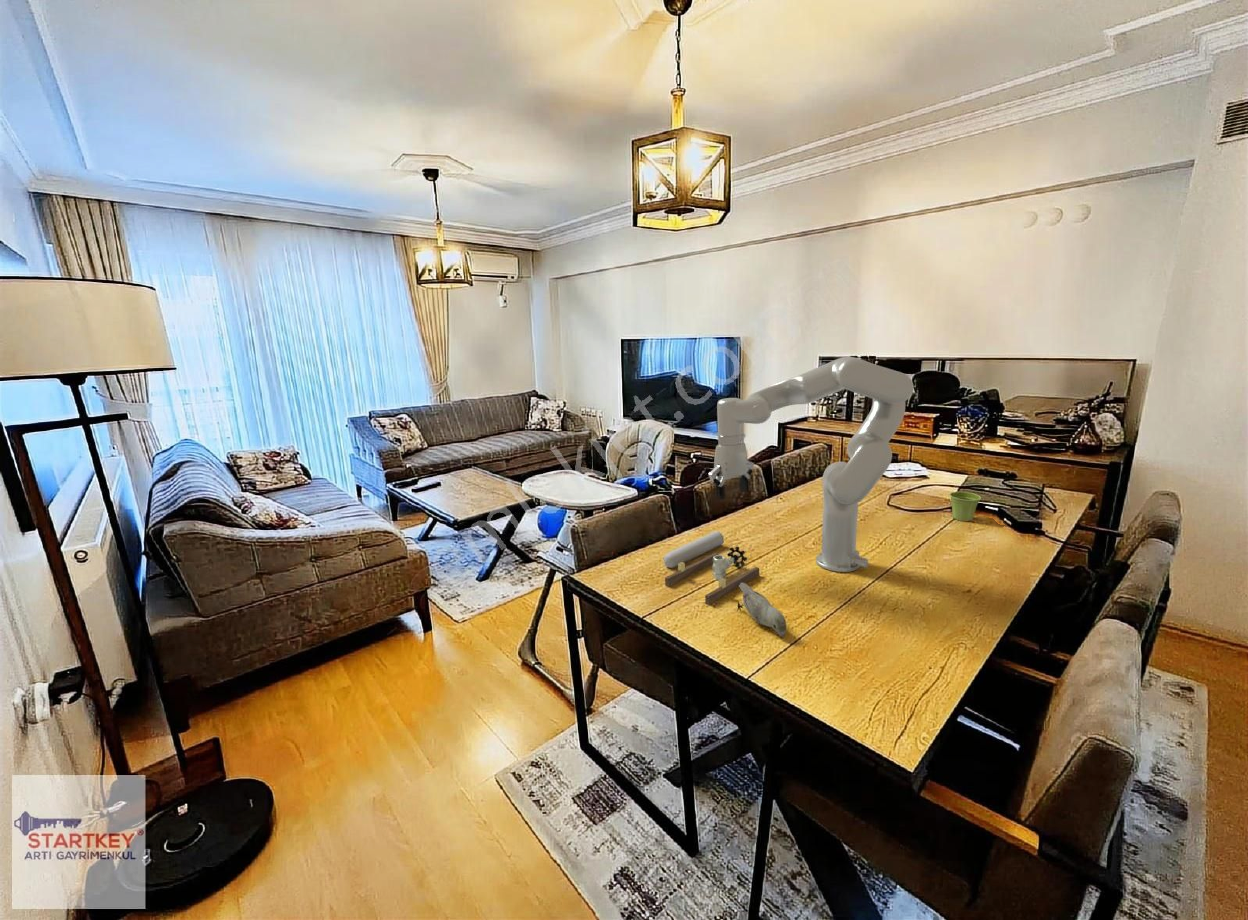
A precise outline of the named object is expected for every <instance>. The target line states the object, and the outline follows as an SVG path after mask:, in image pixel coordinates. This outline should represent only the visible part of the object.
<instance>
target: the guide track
mask: <svg viewBox="0 0 1248 920" xmlns="http://www.w3.org/2000/svg"><path fill="white" fill-rule="evenodd" d="M716 555H719V553H717V552H714V553H712V554H710V555H707V556H705V557H704V558H701V559H700V560H698V561H696V562H694V563H692V564H689V565H688V566H685V565H686V562H685V563H683V562H680V563H678V566H677V569H678V570H677V571H675V572H674V573H671V574H670V575H667V576H666V577H664V585H665V586H666V587H671V586H672V585H674V584H676V583H679V582H680V581H682V580H685V579H686V578H689V577H690V576H692V575H694V574H696V573H698V572H701V570H704V569H705V568H708V567H709V566H713V557H714V556H716ZM759 576H760V567H757V566H754V567H753V568H751V569H749V570H748V571H746V572H744V573H742V574H740V575H739V576H737V577H736V578H733V579H732V580H730V581H728V582H727V583H726V581H727V578H725V579H724V578H721V579H719V580H718V588H716V589H714V590H712V591H711V592H709V593H707V594H705V595H704V599H705V602H704V603H705V605H708V606H710V605H712V604H714V603H715V602H717V601H719V600H721V599H722V598H724V597H726V596H727V595H729V594H730V593H731V594H732V593H733V592H734V591H735V590H738V589H740V587H739V585H740V583H745V584H747V583H750V582H751V581H753V580H754V579H756V578H757V577H759Z"/></svg>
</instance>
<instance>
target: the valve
mask: <svg viewBox="0 0 1248 920" xmlns="http://www.w3.org/2000/svg"><path fill="white" fill-rule="evenodd" d="M728 550H729V551H730V552H728V553H726V555H727V557H729V558H726V556H725V555H722V554H718V555H716V556H714V557H713V564H712V565H711V566H712V571H713V573H712V577H713V578H714V579H715V580H716V581H719V579H721V578H724V579H727V573H726V572H727V570H729V568H731V565H732V564H734V567H736V568H738V567H744V566H746V563H745V562H746V561H748V557H746V556H745V553H746V551H745V550H740V546H736V547H733V546H731V547H730V548H729V549H728ZM735 553H736V554H735ZM740 559H741V560H740ZM739 560H740V561H739Z"/></svg>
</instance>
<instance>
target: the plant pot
mask: <svg viewBox="0 0 1248 920" xmlns="http://www.w3.org/2000/svg"><path fill="white" fill-rule="evenodd" d="M949 497H950V500H951V511H952V512H951V513H952V514H951V516H952V518H953V519H954V520H957V521H960V522H968V521H970V522H971V521H973V519H974V516H975V512H976V509H977V506H978V504H979V502H980V500H982V496H981V495H978V494H976V493H973V492H968V491H954V492H950V493H949Z"/></svg>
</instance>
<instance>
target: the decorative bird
mask: <svg viewBox="0 0 1248 920" xmlns="http://www.w3.org/2000/svg"><path fill="white" fill-rule="evenodd" d="M739 589H740V590H741V592H743V593H742V600H743V603H742V604H740V602H739V600H738V599H737V600H736V601H737V609H736V612H738V611H740V612H741V609H744V608H745V609H746V610H747V613H748V614H749V615H750V617H751V618H752V619H753V620H754V621H755V622H757V624H759V625H763V626H765V627H769V628H772V629H773V630H774V631H775V632H776V633H777V635H779V636H780V638H782V639H783V638H784V637H785V634H786V631H787V622H786V618H785V616H784V614H783V613H782V612H781V611H780V610H778V609H777V608H775V607H774V606H773V605H772V604H771V602H770V601H769V600H768V598H767V597H765V596H764V595H763V594H761V593H760V592H758V591H755V590H754V589H753V588H752V587H751V586H749V585H748V584H747V583H746V584H745V583H740V585H739Z"/></svg>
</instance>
